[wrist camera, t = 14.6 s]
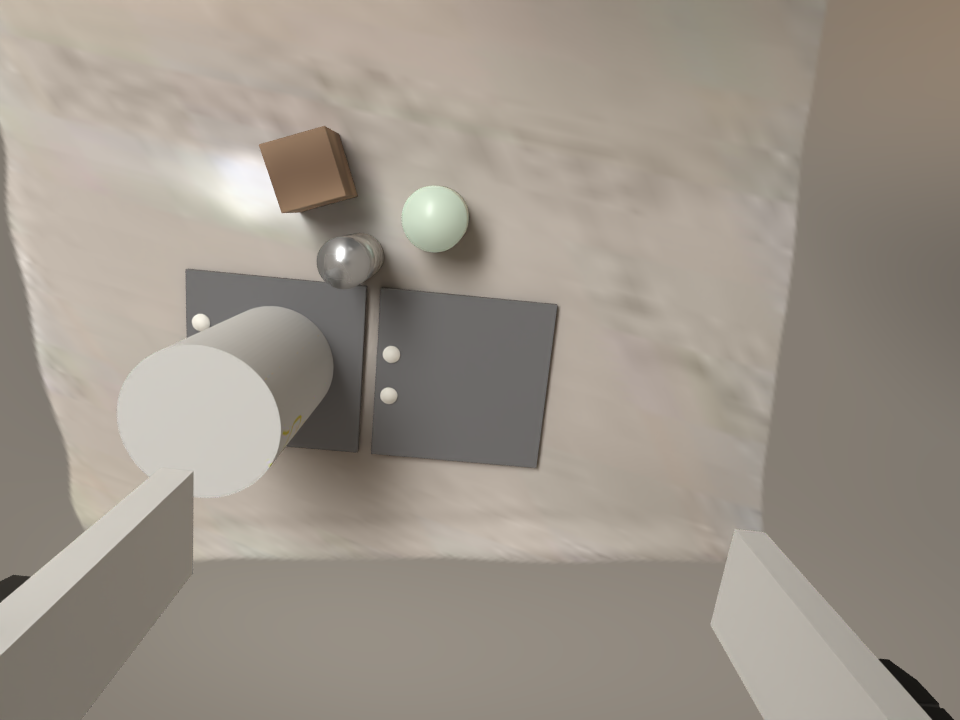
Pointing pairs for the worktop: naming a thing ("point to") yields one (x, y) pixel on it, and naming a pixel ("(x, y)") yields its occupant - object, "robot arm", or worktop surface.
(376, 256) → the metal peg
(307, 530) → the worktop surface
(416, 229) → the pale green domed piece
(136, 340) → the worktop surface
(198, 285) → the pad three
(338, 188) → the walnut block
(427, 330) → the pad two
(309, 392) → the white cylinder
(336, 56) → the worktop surface
